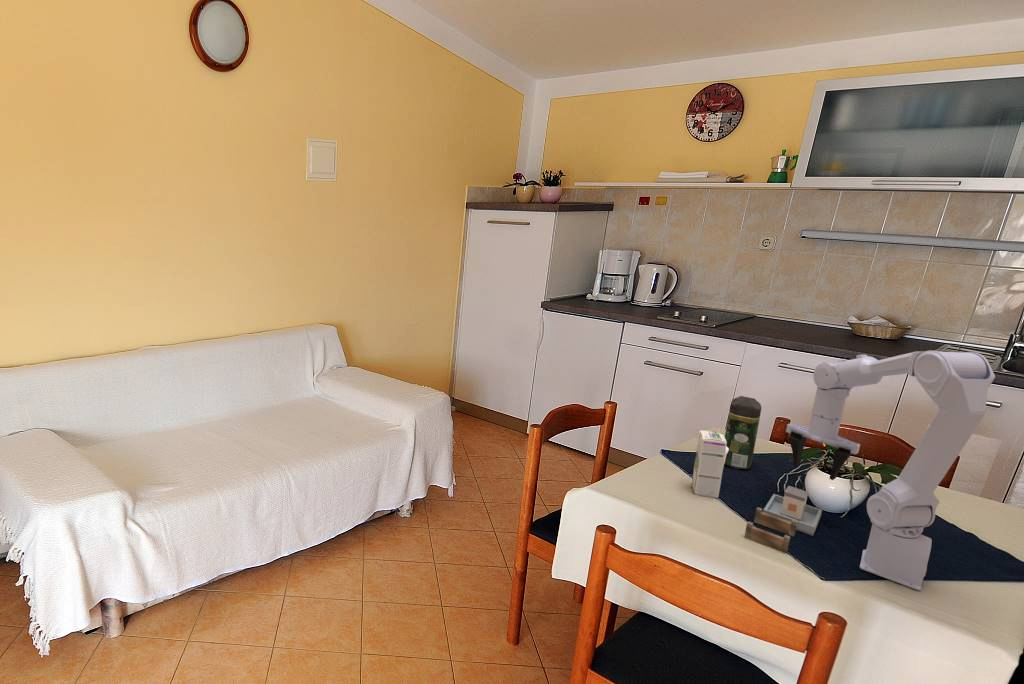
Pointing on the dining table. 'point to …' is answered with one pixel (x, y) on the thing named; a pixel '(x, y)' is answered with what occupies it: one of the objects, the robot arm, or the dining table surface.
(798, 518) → the small beige carton
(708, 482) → the syrup box
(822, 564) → the dining table surface
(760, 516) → the rail holder
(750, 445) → the coffee jar
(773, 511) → the tray
